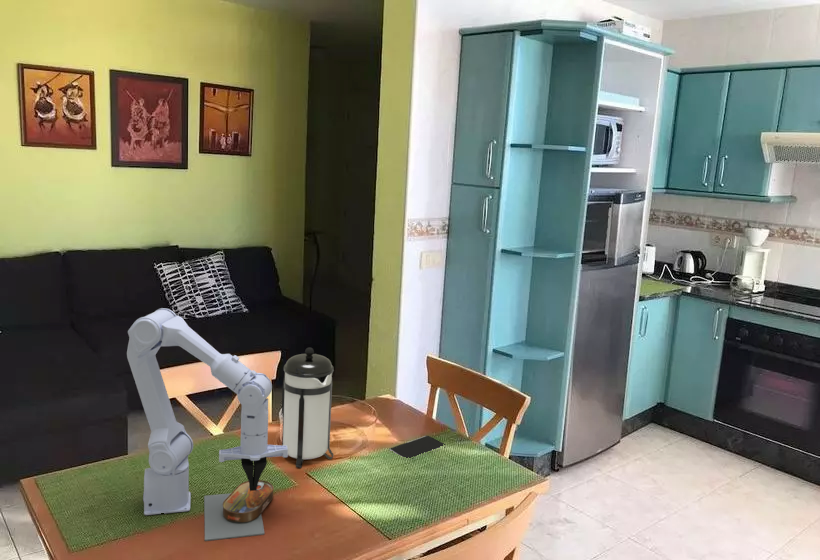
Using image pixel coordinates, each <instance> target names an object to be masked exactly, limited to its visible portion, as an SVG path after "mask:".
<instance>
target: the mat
mask: <svg viewBox="0 0 820 560" xmlns="http://www.w3.org/2000/svg"><path fill="white" fill-rule="evenodd" d="M231 493H232V492H231ZM231 493H221V494H220V493H219V494H207V495H203V499H204V500H203V501H204V503H203V504H204V505H203V506H204V507H203V508H204V512H203V513H204V542H208V541H210V542H211V541H218V540H227V539H236V538H245V537H253V536H255V537H256V536H261V535H262V536H264V535H265V529H264V528H265V527H264V522H263V516H262V513H261V514H260V515H259V516H258V517H257V518H256V519H254V520H252V521H249V522H234V521H230V520H227V519H226V518H225V517H224V515H223V502H224V500H225V499H226V498H227V497H228V496H229V495H230V494H231Z"/></svg>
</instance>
